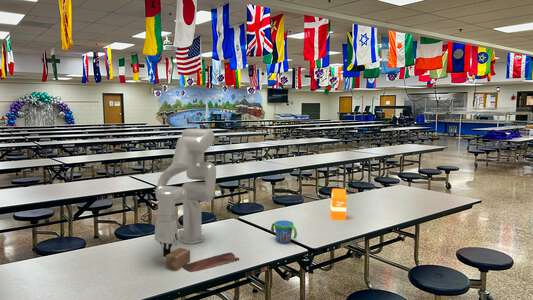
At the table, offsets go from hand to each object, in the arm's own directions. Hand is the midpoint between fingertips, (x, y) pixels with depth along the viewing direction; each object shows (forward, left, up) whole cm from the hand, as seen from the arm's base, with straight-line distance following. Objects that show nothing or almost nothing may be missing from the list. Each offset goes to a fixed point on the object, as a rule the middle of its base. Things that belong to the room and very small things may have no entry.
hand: (167, 255), depth 166 cm
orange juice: (+57, +103, -3) cm, 117 cm away
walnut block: (+6, 0, -3) cm, 7 cm away
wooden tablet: (+18, +9, -4) cm, 21 cm away
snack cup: (+39, +49, -3) cm, 62 cm away
